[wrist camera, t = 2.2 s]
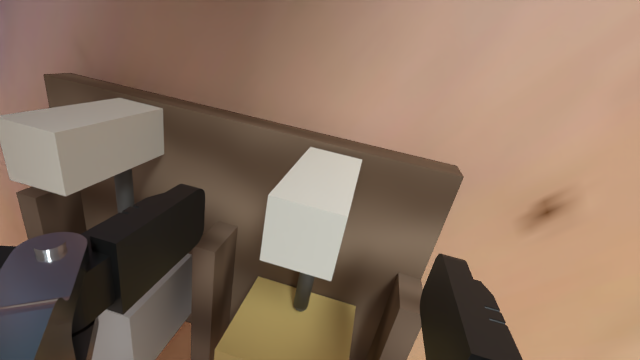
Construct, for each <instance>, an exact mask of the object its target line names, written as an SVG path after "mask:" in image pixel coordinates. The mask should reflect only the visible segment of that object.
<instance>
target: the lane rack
mask: <svg viewBox="0 0 640 360" xmlns="http://www.w3.org/2000/svg"><path fill="white" fill-rule="evenodd" d="M44 80H45V85H46V91H47V96H48V102H49V108H54V107H60V106H67V105H74V104H81V103H87V102H94V101H101V100H108V99H114V98H123V99H127V100H131V101H135V102H139V103H143V104H147V105H151V106H155V107H159V108H163V128H164V154H163V155H161V156H159V157H156V158H154V159H152V160H150V161H147V162H145V163H143V164H140V165H138V166H136V167H133V168H132V176H133V190H134V203H135V204H136V203H137V202H139V201H141V200H143V199H145V198H147V197H150V196H154V195H157V194H161V193H165V192H166V191H168V190H170V189H172V188H173V187H175V186H177V185H179V184H186V185H189V186H193V187H197V188H201V189H203V190H204V192H205V220H204V232H203V235H202V237H201V239H200V241H199V243H198V244H197V245H196V246H195V247H194V248H193V249H192V250H191V251H190V252H189V253H188V254H191V255H192V304H191V314H190V315H189V317H188V318H187V319H186V320H185V321H186V322H189V323H191V360H214V354H215V348H216V347H217V345H218V343H219V342H220V340H221V338H222V336H223V335H224V333H225V331H226V330H227V328H228V326H229V325H230V323H231V321H232V320H233V318H234V316H235V315H236V313H237V311H238V310H239V308H240V306H241V304H242V303H243V301H244V299H245V298H246V296H247V294H248V293H249V291H250V289H251V288H252V286H253V284H254V283H255V281H256V279H257V278H258V276H259V277H262V278H266V279H269V280H272V281H275V282H279V283H282V284H285V285H288V286H292V287H295V288H297V283H298V278H299V273H300V272H298V271H294V270H291V269H288V268H284V267H281V266H278V265H274V264H271V263H268V262H264V261H261V260H260V253H261V245H262V238H263V230H264V222H265V215H266V207H267V199H268V195H269V193H270V192H271V191H272V190H273V189H274V188H275V187H276V185H277V184H278V183H279V182H280V181H281V180H282V179H283V177H284V176H285V175H286V174H287V173H288V172H289V171H290V169H291V168H292V167H293V166H294V165H295V164H296V163H297V161H298V160H299V159H300V158H301V157H302V156H303V155H304V153H305V152H306V151H307V150H308V149H309V148H310V147H313V148H317V149H322V150H326V151H330V152H334V153H338V154H342V155H346V156H350V157H354V158H358V159H362V163H361V167H360V171H359V175H358V179H357V183H356V187H355V191H354V195H353V199H352V203H351V207H350V211H349V215H348V219H347V223H346V227H345V231H344V234H343V238H342V242H341V246H340V250H339V254H338V257H337V261H336V265H335V269H334V273H333V277H332V280H331V281H328V280H325V279H321V278H318V277H315V278H314V282H313V286H312V291H311V293H315V294H318V295H321V296H325V297H328V298H331V299H334V300H338V301H341V302H344V303H347V304H351V305H354V306H356V309H355V317H354V325H353V332H352V340H351V348H350V356H349V360H406V359H407V357H408V355H409V353H410V351H411V349H412V346H413V344H414V342H415V340H416V338H417V335H418V333H419V331H420V329H421V327H422V325H421V317H420V299H421V294H422V291H423V290H422V283H421V278H422V275H423V273H424V271H425V268H426V266H427V263H428V261H429V259H430V256H431V254H432V252H433V249H434V247H435V244H436V242H437V240H438V237H439V235H440V232H441V230H442V228H443V225H444V223H445V220H446V218H447V216H448V213H449V211H450V208H451V206H452V204H453V201H454V199H455V197H456V194H457V192H458V189H459V187H460V185H461V182H462V180H463V175H462V174H461V172H460V170H459V169H458V167H457V166H455V165H450V164H446V163H442V162H438V161H434V160H430V159H425V158H421V157H417V156H413V155H409V154H405V153H400V152H396V151H392V150H388V149H384V148H380V147H376V146H371V145H367V144H363V143H359V142H355V141H351V140H346V139H342V138H338V137H334V136H330V135H326V134H321V133H317V132H313V131H309V130H305V129H301V128H297V127H292V126H288V125H284V124H280V123H276V122H272V121H267V120H263V119H259V118H255V117H251V116H247V115H243V114H238V113H234V112H230V111H226V110H222V109H218V108H213V107H209V106H205V105H201V104H197V103H193V102H188V101H184V100H180V99H176V98H172V97H168V96H164V95H159V94H155V93H151V92H147V91H143V90H139V89H134V88H130V87H126V86H122V85H118V84H114V83H109V82H105V81H101V80H97V79H93V78H89V77H85V76H80V75H76V74H72V73H62V74H44ZM16 194H17V198H18V202H19V205H20V209H21V213H22V217H23V221H24V225H25V229H26V233H27V237H28V240H29V239H31V238H34V237H37V236H40V235H44V234H49V233H55V232H73V233H78V234H82V233H83V232H85V231H87V230H89V229H91V228H92V227H94V226H96V225H98V224H100V223H101V222H103V221H105V220H107V219H109V218H110V217H112V216H114V215H116V214H118V211H117V201H116V191H115V182H114V176H112V177H110V178H108V179H105V180H103V181H101V182H98V183H96V184H94V185H91V186H89V187H87V188H84V189H82V190H80V191H77V192H75V193H73V194H70V195H68V196H63V195H59V194H56V193H52V192H49V191H46V190H42V189H39V188H36V187H30V188H27V189H25V190H22V191H19V192H16Z"/></svg>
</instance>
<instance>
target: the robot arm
mask: <svg viewBox="0 0 640 360" xmlns="http://www.w3.org/2000/svg"><path fill="white" fill-rule="evenodd" d="M204 220H205V192H204V190H203V189H201V188H197V187H193V186H189V185H186V184H179V185H177V186H175V187H173V188H172V189H170V190H168V191H166V192H165V193H161V194H157V195H154V196H150V197H147V198H145V199H143V200H141V201H139V202H137V203H136V204H134V205H133V207H131V206H130V207H128V208H127V209H125V210H123V211H122V213H120V212H119V213H118V214H116V215H114V216H112V217H110V218H109V219H107V220H105V221H103V222H101V223H100V224H98V225H96V226H94V227H92V228H91V229H89V230H87V231H85V232H83V233H82V234H78V233H73V232H55V233H49V234H44V235H40V236H37V237H34V238H31V239H29V240H27V241H25V242H23V243H21V244H20V245H18V246H17V247H13V246H0V360H92V356H93V351H94V346H95V341H96V336H97V331H98V326H99V318H98V316H99V315H100V314H101V313H103V312H104V311H105V310H106V309H107V310H110V311H113V312H116V313H119V314H122V315H124V314H125V313H126V312H127V311H128V310H129V309H130V308H131V307H132V306H133V305H134V304H135V303H136V302H137V301H138V300H139V299H140V298H141V297H142V296H144V295H145V294H146V293H147V292H148V291H149V290H150V289H151V288H152V287H153V286H154V285H155V284H156V283H157V282H158V281H159V280H160V279H161V278H162V277H163V276H165V275H166V274H167V273H168V272H169V271H170V270H171V269H172V268H173V267H174V266H175V265H176V264H177V263H178V262H179V261H180V260H181V259H182V258H183V257H185V256H186V255H187V254H188V253H189V252H190V251H191V250H192V249H193V248H194V247H195V246H196V245H197V244H198V243H199V241H200V239H201V237H202V235H203V232H204ZM420 317H421V325H422V333H423V340H424V348H425V355H426V360H523V359H522V357H521V355H520V353H519V351H518V348H517V346H516V344H515V342H514V340H513V338H512V335H511V333H510V331H509V329H508V327H507V326H506V325H505V323H506V322H505V320H504V318H503V316H502V314H501V313H500V309H499V307H498V305H497V303H496V301H495V298H494V296H493V295H492V294H491V292H490V291H489V290H488V289H487V288H486V287H485V286H484V285H483V284H482V282H481V281H478V280H474V279H473V277H472V275H471V272H470V270H469V267H468V265H467V262H466V261H465V260H462V259H458V258H455V257H451V256H447V255H443V254H439V255H438V256H437V257H436V259H435V262H434V264H433V267H432V269H431V271H430V274H429V276H428V279H427V281H426V284H425V286H424V289H423V291H422V294H421V299H420Z"/></svg>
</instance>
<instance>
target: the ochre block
mask: <svg viewBox="0 0 640 360" xmlns="http://www.w3.org/2000/svg"><path fill="white" fill-rule="evenodd" d="M361 163H362V159H358V158H354V157H350V156H346V155H342V154H338V153H334V152H330V151H326V150H322V149H317V148H313V147H310V148H309V149H308V150H307V151H306V152H305V153H304V155H303V156H302V157H301V158H300V159H299V160H298V161H297V163H296V164H295V165H294V166H293V167H292V168H291V169H290V171H289V172H288V173H287V174H286V175H285V176H284V177H283V179H282V180H281V181H280V182H279V183H278V184H277V185H276V187H275V188H274V189H273V190H272V191H271V192H270V193H269V195H268V199H267V207H266V215H265V222H264V230H263V238H262V245H261V253H260V260H261V261H264V262H268V263H271V264H274V265H278V266H281V267H284V268H288V269H291V270H294V271H298V272H300V273H299V278H298V283H297V288H295V287H292V286H288V285H285V284H282V283H279V282H275V281H272V280H269V279H266V278H262V277H259V276H258V278H257V279H256V281H255V283H254V284H253V286H252V288H251V289H250V291H249V293H248V294H247V296H246V298H245V299H244V301H243V303H242V304H241V306H240V308H239V310H238V311H237V313H236V315H235V316H234V318H233V320H232V321H231V323H230V325H229V326H228V328H227V330H226V331H225V333H224V335H223V336H222V338H221V340H220V342H219V343H218V345H217V347H216V348H215V354H214V360H349V356H350V348H351V340H352V332H353V325H354V317H355V309H356V306H354V305H351V304H347V303H344V302H341V301H338V300H334V299H331V298H328V297H325V296H321V295H318V294H315V293H311V291H312V286H313V282H314V278H315V277H318V278H321V279H325V280H328V281H331V280H332V277H333V273H334V269H335V265H336V261H337V257H338V254H339V250H340V246H341V242H342V238H343V234H344V231H345V227H346V223H347V219H348V215H349V211H350V207H351V203H352V199H353V195H354V191H355V187H356V183H357V179H358V175H359V171H360V167H361Z"/></svg>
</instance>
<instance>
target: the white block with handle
mask: <svg viewBox="0 0 640 360" xmlns="http://www.w3.org/2000/svg"><path fill="white" fill-rule="evenodd" d="M0 144H1V147H2V151H3V155H4V159H5V163H6V167H7V171H8V174H9V178H10V180H12V181H15V182H19V183H22V184H25V185H29V186H32V187H36V188H39V189H42V190H46V191H49V192H52V193H56V194H59V195H63V196H68V195H70V194H73V193H75V192H77V191H80V190H82V189H84V188H87V187H89V186H91V185H94V184H96V183H98V182H101V181H103V180H105V179H108V178H110V177H112V176H114V182H115V191H116V201H117V211H118V213H119V212H120V213H122V211H123V210H125V209H127V208H128V207H130V206H131V207H133V205H134V204H135V203H134V190H133V176H132V168H133V167H136V166H138V165H140V164H143V163H145V162H147V161H150V160H152V159H154V158H156V157H159V156H161V155H163V154H164V128H163V108H159V107H155V106H151V105H147V104H143V103H139V102H135V101H131V100H127V99H123V98H114V99H108V100H101V101H94V102H87V103H81V104H74V105H67V106H60V107H54V108H47V109H40V110H33V111H27V112H20V113H13V114H6V115H0ZM191 304H192V255H191V254H187V255H186V256H185V257H183V258H182V259H181V260H180V261H179V262H178V263H177V264H176V265H175V266H174V267H173V268H172V269H171V270H170V271H169V272H168V273H167V274H166V275H165V276H163V277H162V278H161V279H160V280H159V281H158V282H157V283H156V284H155V285H154V286H153V287H152V288H151V289H150V290H149V291H148V292H147V293H146V294H145V295H144V296H142V297H141V298H140V299H139V300H138V301H137V302H136V303H135V304H134V305H133V306H132V307H131V308H130V309H129V310H128V311H127V312H126V313H125V314H124V315H122V314H119V313H116V312H113V311H110V310H107V309H106V310H105V311H104V312H103V313H101V314H100V315H99V316H98V318H99V326H98V331H97V336H96V341H95V346H94V351H93V356H92V360H155V359H156V358H157V357H158V355H159V354H160V353H161V352H162V350H163V349H164V348H165V346H166V345H167V344H168V342H169V341H170V340H171V339H172V337H173V336H174V335H175V333H176V332H177V331H178V330H179V328H180V327H181V326H182V324H183V323H184V322H185V320H186V319H187V318H188V317H189V315H190V314H191Z"/></svg>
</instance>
